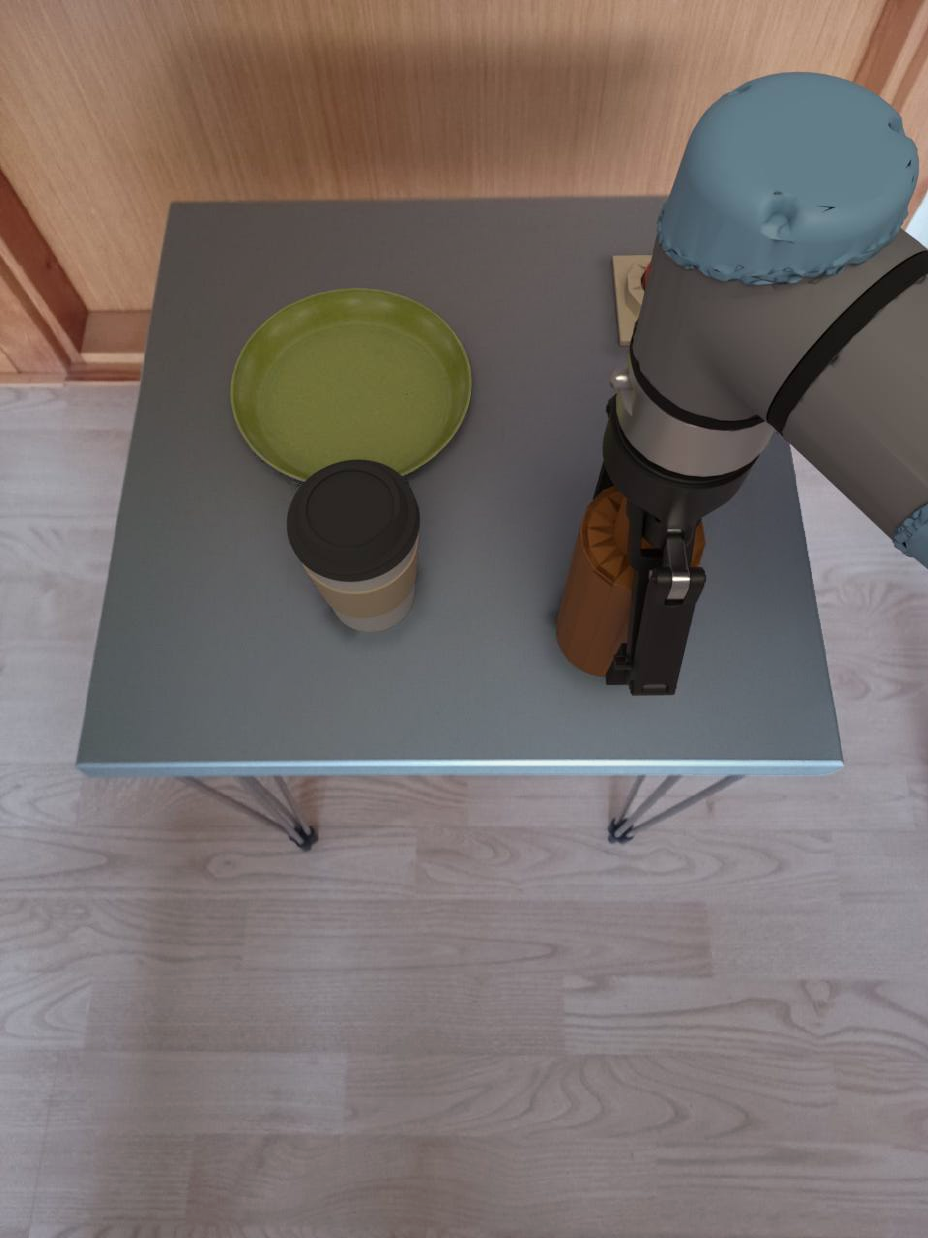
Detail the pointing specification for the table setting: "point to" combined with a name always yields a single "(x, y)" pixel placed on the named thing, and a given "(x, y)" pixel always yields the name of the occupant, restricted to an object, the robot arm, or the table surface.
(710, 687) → the table surface
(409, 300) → the green plate
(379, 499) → the coffee cup
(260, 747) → the table surface
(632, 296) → the cream button plate
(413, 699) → the table surface
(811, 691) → the table surface
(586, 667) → the brown bottle
